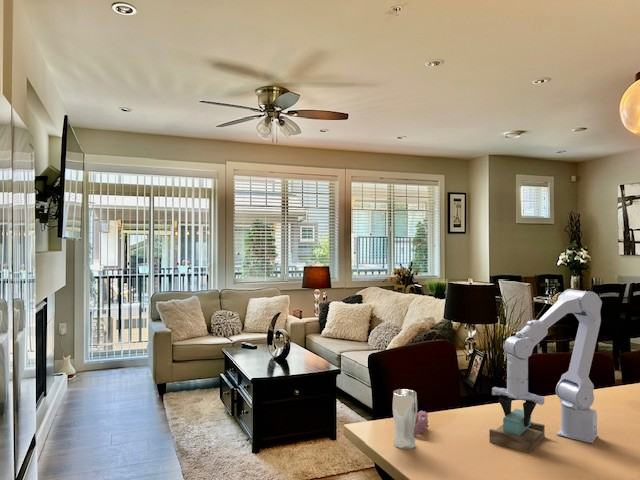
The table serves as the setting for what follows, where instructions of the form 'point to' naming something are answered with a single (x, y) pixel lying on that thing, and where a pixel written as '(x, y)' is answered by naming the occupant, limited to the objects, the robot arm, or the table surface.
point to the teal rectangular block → (515, 422)
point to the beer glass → (404, 417)
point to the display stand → (519, 437)
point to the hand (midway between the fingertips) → (517, 423)
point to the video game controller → (421, 422)
